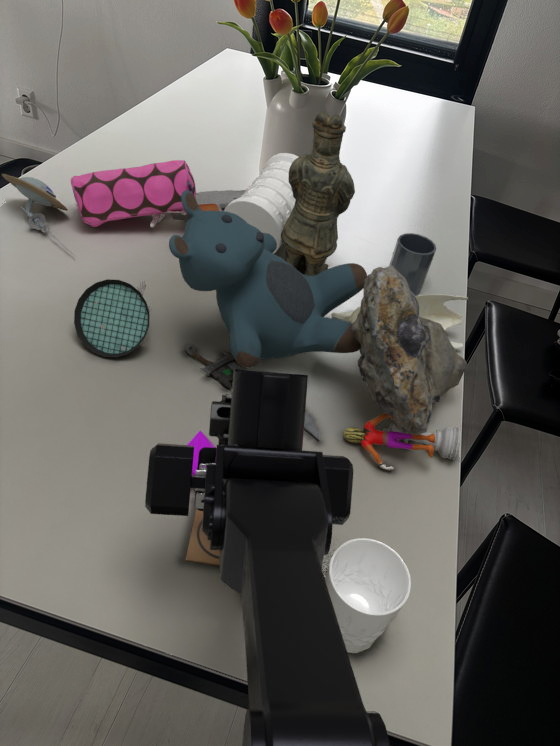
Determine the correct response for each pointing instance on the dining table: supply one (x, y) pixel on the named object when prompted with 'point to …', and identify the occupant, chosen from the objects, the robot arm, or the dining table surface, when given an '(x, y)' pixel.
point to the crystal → (199, 448)
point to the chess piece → (439, 440)
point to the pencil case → (132, 191)
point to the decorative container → (268, 198)
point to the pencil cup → (413, 259)
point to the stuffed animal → (263, 288)
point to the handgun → (212, 201)
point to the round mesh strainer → (112, 318)
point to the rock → (403, 352)
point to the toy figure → (385, 439)
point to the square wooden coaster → (201, 544)
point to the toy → (36, 200)
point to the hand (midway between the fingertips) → (244, 471)
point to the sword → (225, 374)
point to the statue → (317, 198)
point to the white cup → (366, 590)
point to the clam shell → (423, 312)
